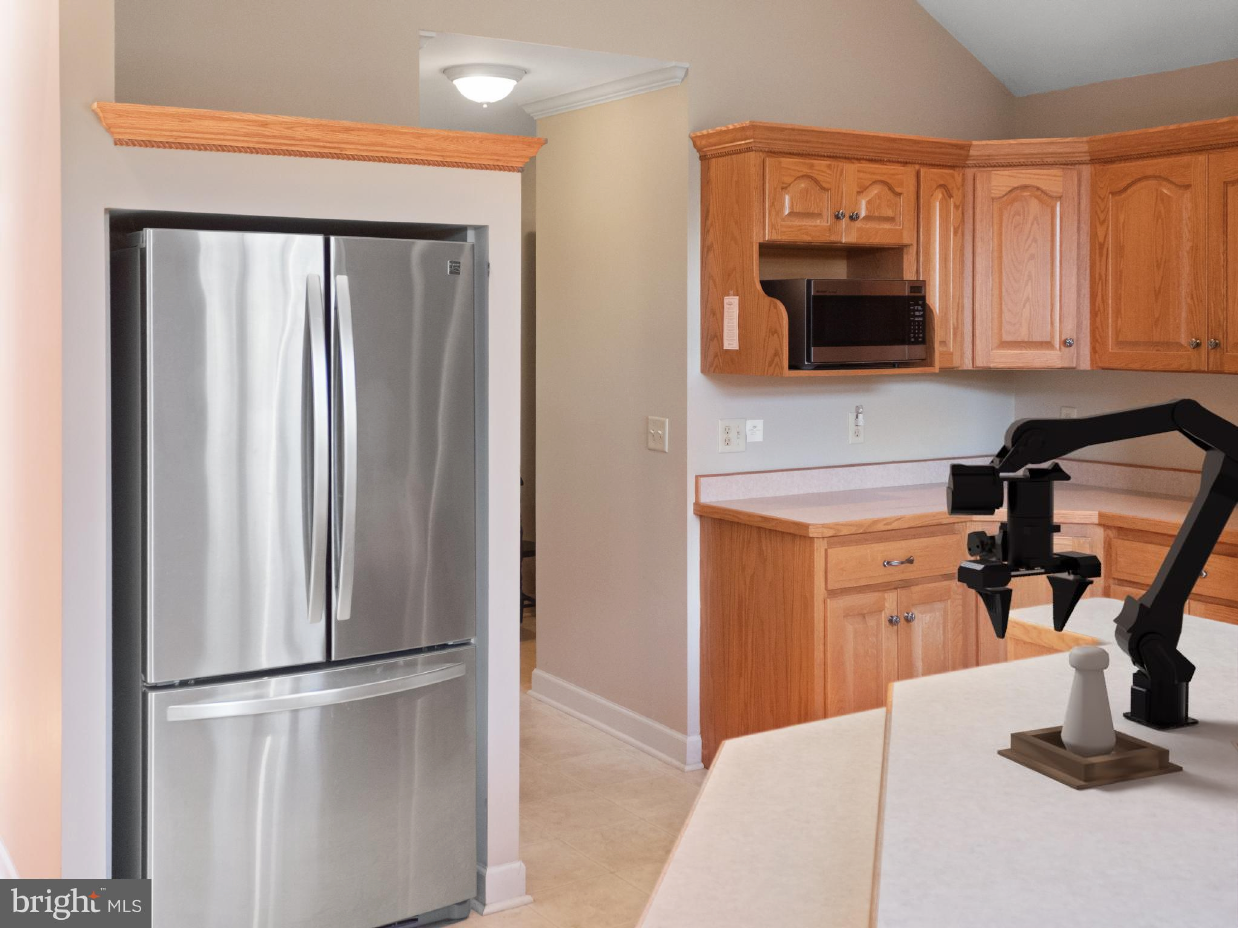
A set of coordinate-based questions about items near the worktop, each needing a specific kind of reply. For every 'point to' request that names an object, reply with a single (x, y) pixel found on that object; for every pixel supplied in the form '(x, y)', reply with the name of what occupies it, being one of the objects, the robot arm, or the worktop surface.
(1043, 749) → the brown flat rectangular frame
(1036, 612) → the worktop surface
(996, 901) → the worktop surface
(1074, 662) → the salt shaker
